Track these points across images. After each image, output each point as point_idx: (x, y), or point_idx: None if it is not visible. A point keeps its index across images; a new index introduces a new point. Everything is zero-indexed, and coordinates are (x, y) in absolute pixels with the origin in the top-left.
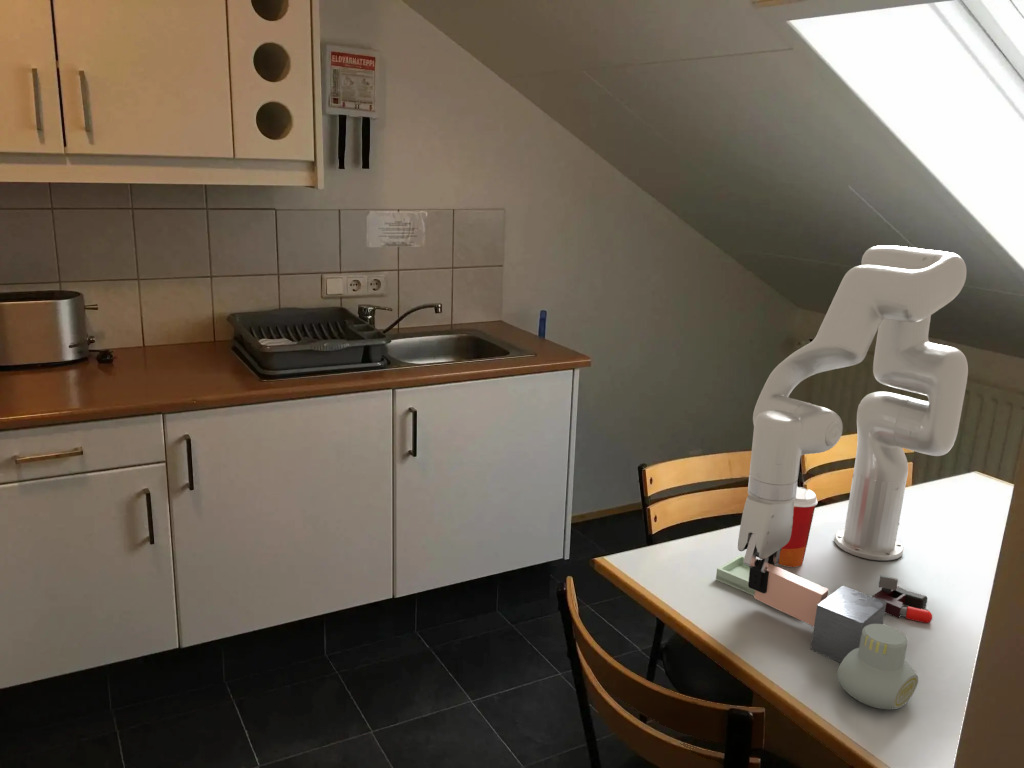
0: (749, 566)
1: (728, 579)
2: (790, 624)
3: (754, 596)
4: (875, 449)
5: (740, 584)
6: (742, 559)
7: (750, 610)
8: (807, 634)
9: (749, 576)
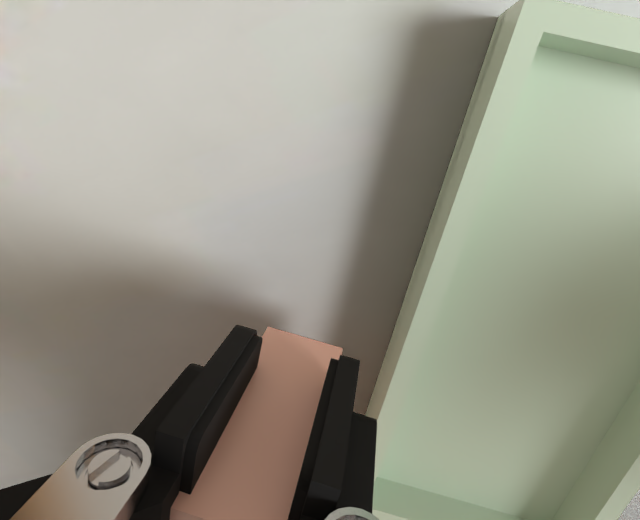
0: (88, 446)
1: (474, 114)
2: None
3: (265, 332)
4: None
5: (444, 202)
6: None
7: (260, 293)
8: None
9: (205, 366)
